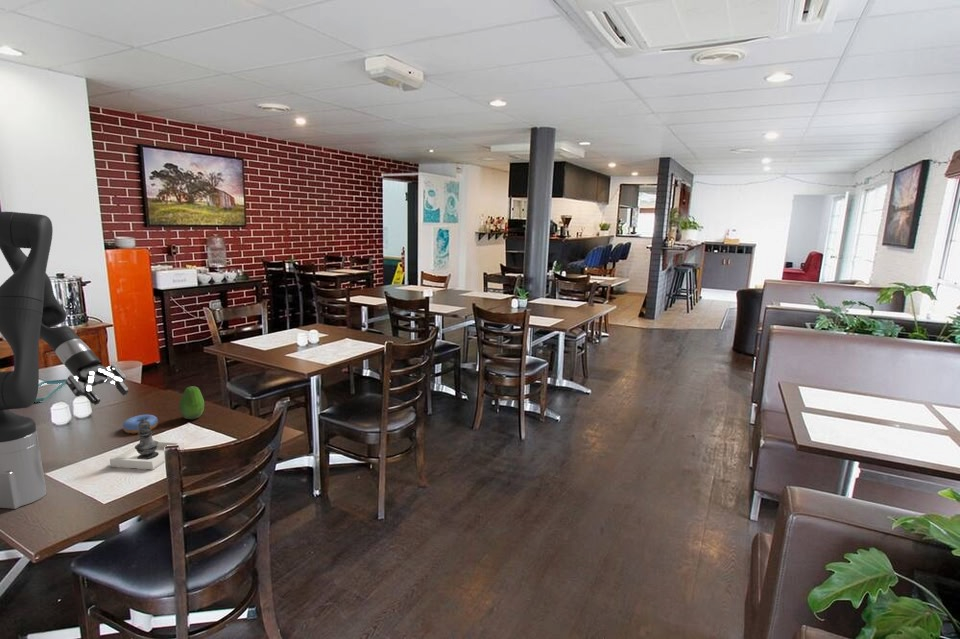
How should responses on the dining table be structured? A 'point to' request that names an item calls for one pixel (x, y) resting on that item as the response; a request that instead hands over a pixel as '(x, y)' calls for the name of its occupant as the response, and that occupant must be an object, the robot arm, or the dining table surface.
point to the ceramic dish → (130, 459)
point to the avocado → (191, 403)
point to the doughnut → (133, 423)
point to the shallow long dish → (53, 390)
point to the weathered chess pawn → (146, 442)
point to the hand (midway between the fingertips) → (112, 398)
